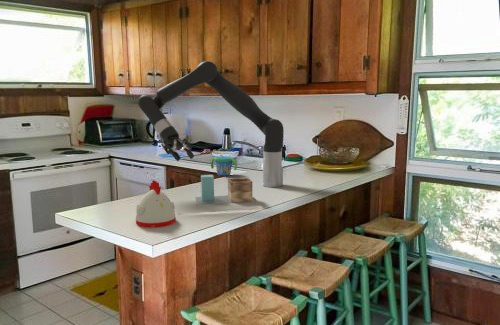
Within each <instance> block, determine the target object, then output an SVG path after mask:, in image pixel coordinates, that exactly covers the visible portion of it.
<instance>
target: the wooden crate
mask: <svg viewBox="0 0 500 325" xmlns="http://www.w3.org/2000/svg"><path fill="white" fill-rule="evenodd" d="M227 196H228V198H229V199H230V201H231V202H243V201H253V199H254V198H253V181H252V180H251V179H250V178H249V177H240V178H239V177H237V178H227ZM243 203H244V202H243Z"/></svg>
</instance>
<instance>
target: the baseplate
mask: <svg viewBox="0 0 500 325" xmlns="http://www.w3.org/2000/svg"><path fill="white" fill-rule="evenodd" d="M194 199H195V201H196V204H197V206H200V205H221V204H222V205H223V204H237V203H238V204H241V203H256V200H255V199H254V198H253V201H243V202H231V201H230V199H229V198H228V195H214V200H207V201H202V198H201V196H195V198H194Z"/></svg>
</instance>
